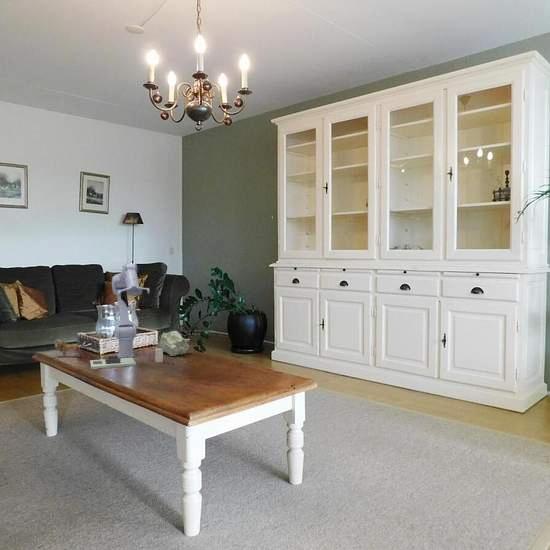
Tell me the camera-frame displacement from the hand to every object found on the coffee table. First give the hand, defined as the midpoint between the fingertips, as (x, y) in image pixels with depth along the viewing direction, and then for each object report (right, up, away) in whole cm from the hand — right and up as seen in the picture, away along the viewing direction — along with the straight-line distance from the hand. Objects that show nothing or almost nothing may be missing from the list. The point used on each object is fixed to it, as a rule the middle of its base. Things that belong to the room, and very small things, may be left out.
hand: (136, 305), depth 230 cm
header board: (-13, -29, +7) cm, 33 cm away
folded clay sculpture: (+11, -29, +32) cm, 44 cm away
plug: (+7, -29, +14) cm, 33 cm away
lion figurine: (-42, -29, +23) cm, 56 cm away
